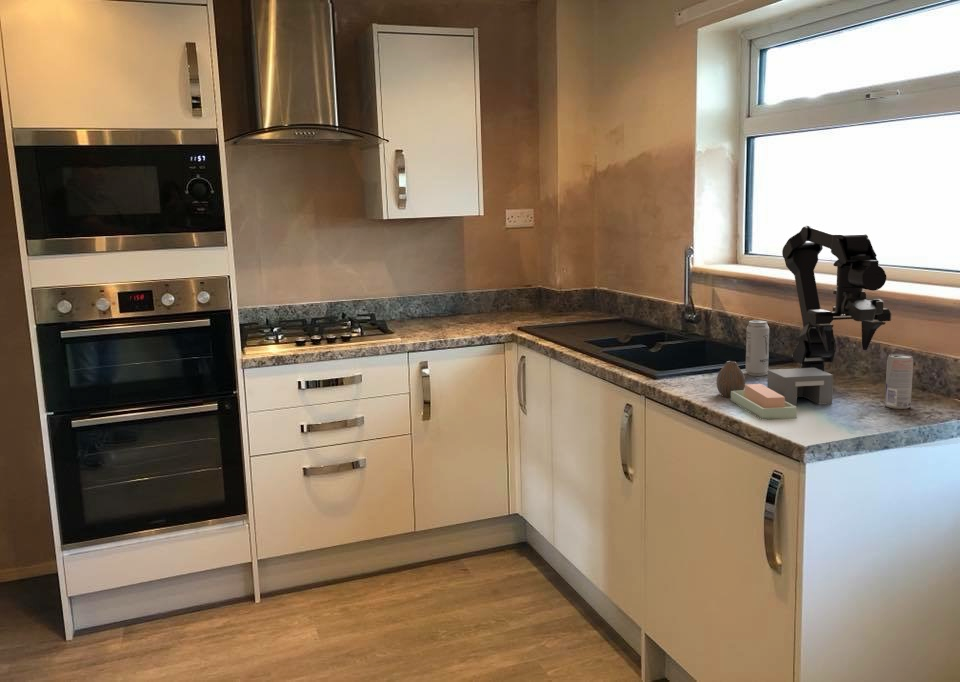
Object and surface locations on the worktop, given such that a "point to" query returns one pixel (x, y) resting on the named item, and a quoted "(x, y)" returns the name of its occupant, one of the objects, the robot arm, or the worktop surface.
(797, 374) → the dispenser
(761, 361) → the energy drink can
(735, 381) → the vase
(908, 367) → the energy drink
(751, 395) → the pink square pillar
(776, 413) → the tray
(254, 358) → the worktop surface
